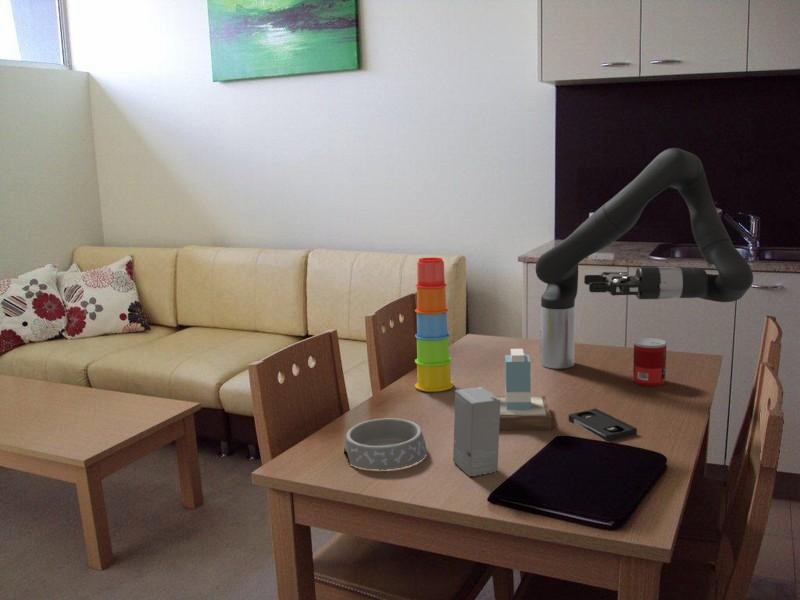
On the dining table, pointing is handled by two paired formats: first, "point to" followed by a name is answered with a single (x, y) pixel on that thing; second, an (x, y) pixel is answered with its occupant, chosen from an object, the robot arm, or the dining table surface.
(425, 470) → the dining table surface
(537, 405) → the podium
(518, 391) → the carton
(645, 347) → the canned food
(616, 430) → the vhs tape
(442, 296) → the stacking cups
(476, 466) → the skincare box
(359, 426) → the dog bowl
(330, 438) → the dining table surface
